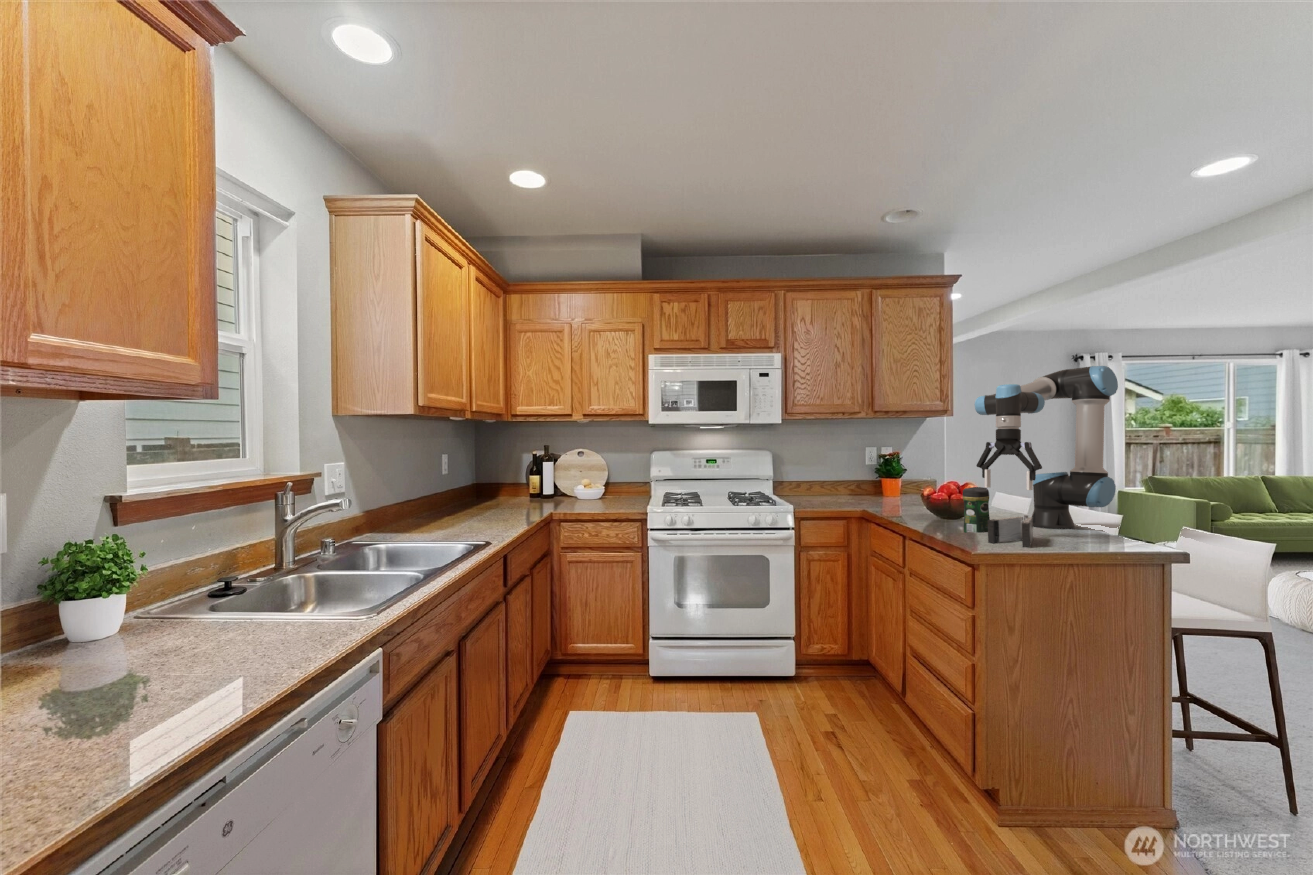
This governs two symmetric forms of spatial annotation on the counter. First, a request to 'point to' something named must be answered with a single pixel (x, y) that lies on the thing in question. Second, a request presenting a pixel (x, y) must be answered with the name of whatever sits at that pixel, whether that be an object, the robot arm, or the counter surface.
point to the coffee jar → (976, 509)
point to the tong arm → (1005, 529)
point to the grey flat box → (1027, 531)
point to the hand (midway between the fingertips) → (1008, 488)
